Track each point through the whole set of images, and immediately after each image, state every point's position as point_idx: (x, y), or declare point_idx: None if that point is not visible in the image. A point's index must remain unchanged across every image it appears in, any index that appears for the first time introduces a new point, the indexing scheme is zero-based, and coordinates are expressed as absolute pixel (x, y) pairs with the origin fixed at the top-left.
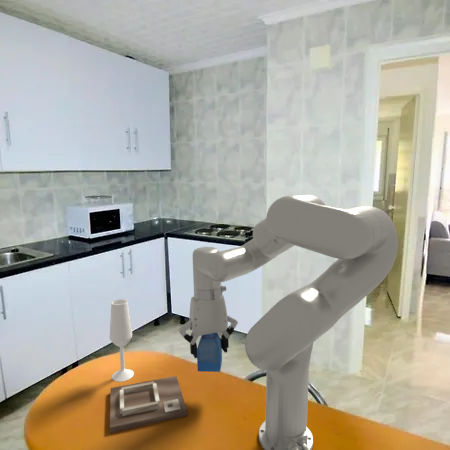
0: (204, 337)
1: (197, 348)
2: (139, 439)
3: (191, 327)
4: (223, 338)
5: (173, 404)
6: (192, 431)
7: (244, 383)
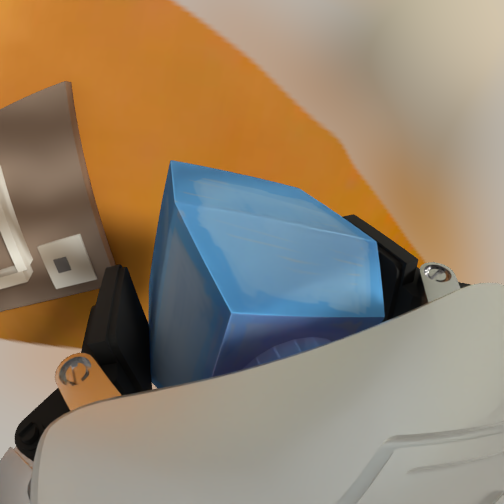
0: None
1: (155, 385)
2: (30, 332)
3: (49, 432)
4: (388, 317)
5: (71, 261)
6: None
7: (328, 139)
